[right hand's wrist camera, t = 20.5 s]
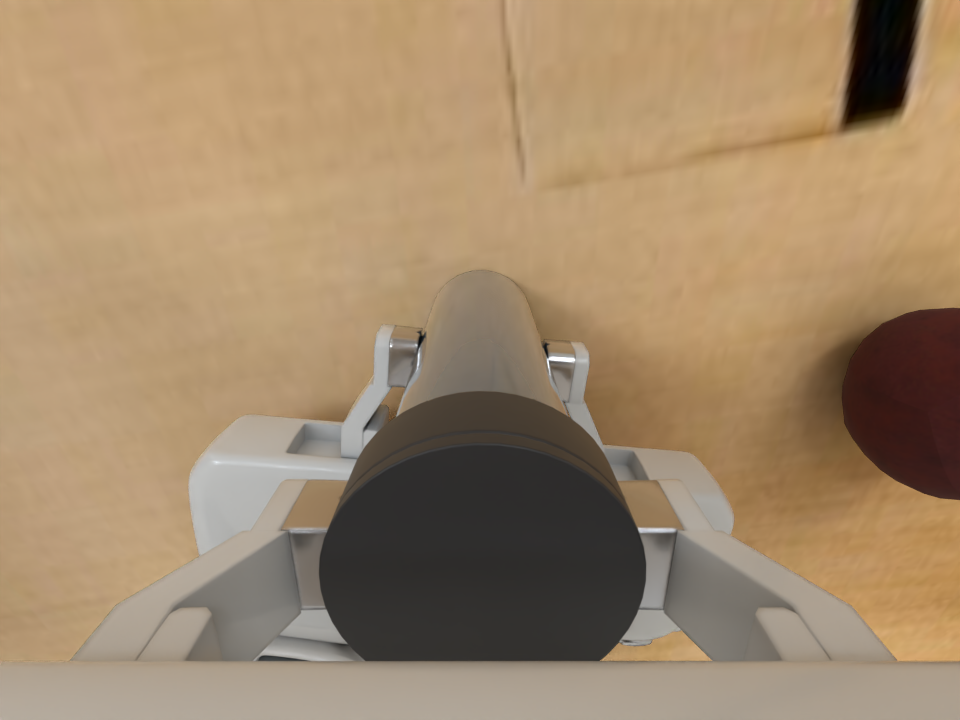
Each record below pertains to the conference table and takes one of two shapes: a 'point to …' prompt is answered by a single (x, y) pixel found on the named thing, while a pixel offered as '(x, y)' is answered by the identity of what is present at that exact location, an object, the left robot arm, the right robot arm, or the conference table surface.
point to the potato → (909, 400)
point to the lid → (482, 538)
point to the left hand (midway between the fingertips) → (482, 337)
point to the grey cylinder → (481, 345)
